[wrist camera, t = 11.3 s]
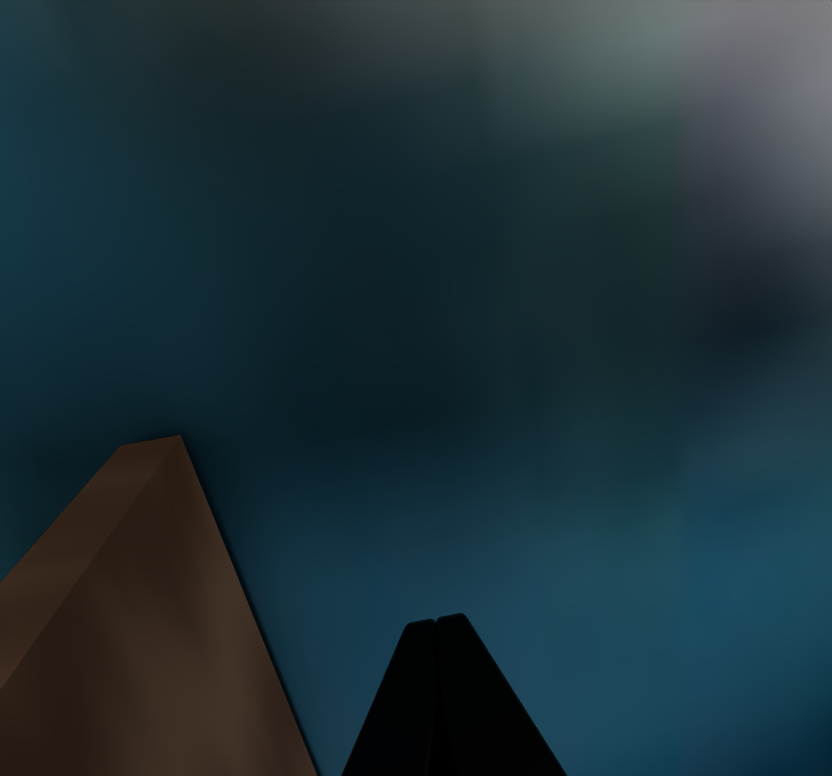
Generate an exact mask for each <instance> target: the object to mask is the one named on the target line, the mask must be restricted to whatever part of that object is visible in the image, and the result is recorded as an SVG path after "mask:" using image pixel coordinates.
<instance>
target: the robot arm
mask: <svg viewBox="0 0 832 776" xmlns="http://www.w3.org/2000/svg"><path fill="white" fill-rule="evenodd" d="M341 776H567V774H566V773H565V771H564V770H563V768H562V767H561V765H560V763H559V762H558V760H557V759H556V757H555V755H554V754H553V752H552V751H551V749H550V748H549V746H548V744H547V743H546V741H545V740H544V738H543V736H542V735H541V733H540V732H539V730H538V729H537V727H536V725H535V724H534V722H533V721H532V719H531V718H530V716H529V714H528V713H527V711H526V710H525V708H524V706H523V705H522V703H521V702H520V700H519V699H518V697H517V695H516V694H515V692H514V691H513V689H512V687H511V686H510V684H509V683H508V681H507V680H506V678H505V676H504V675H503V673H502V672H501V670H500V669H499V667H498V665H497V664H496V662H495V661H494V659H493V657H492V656H491V654H490V653H489V651H488V650H487V648H486V646H485V645H484V643H483V642H482V640H481V638H480V637H479V635H478V634H477V632H476V631H475V629H474V627H473V626H472V624H471V623H470V621H469V619H468V618H467V617H466V615H464V614H463V613H458V614H453V615H447V616H442V617H439V618H438V619H437V621H436V622H435V620H433V619H426V620H421V621H415V622H410V623H408V624H407V625H406V626H405V628H404V630H403V632H402V635H401V637H400V639H399V642H398V644H397V646H396V649H395V651H394V653H393V656H392V658H391V660H390V663H389V665H388V667H387V670H386V672H385V674H384V677H383V679H382V682H381V684H380V686H379V689H378V691H377V693H376V696H375V698H374V700H373V703H372V705H371V707H370V710H369V712H368V714H367V717H366V719H365V721H364V724H363V726H362V728H361V731H360V733H359V735H358V738H357V740H356V742H355V745H354V747H353V749H352V752H351V754H350V756H349V759H348V761H347V763H346V766H345V768H344V770H343V773H342V775H341Z"/></svg>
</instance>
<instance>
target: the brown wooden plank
mask: <svg viewBox="0 0 832 776" xmlns="http://www.w3.org/2000/svg"><path fill="white" fill-rule="evenodd" d="M0 776H317V774H316V771H315V769H314V766H313V764H312V761H311V759H310V756H309V754H308V751H307V749H306V746H305V744H304V741H303V739H302V736H301V734H300V731H299V729H298V726H297V724H296V721H295V719H294V716H293V714H292V711H291V709H290V706H289V704H288V701H287V699H286V696H285V694H284V691H283V689H282V686H281V684H280V681H279V679H278V676H277V674H276V671H275V669H274V667H273V664H272V662H271V659H270V657H269V654H268V652H267V649H266V647H265V644H264V642H263V639H262V637H261V634H260V632H259V629H258V627H257V624H256V622H255V619H254V617H253V614H252V612H251V609H250V607H249V604H248V602H247V599H246V597H245V594H244V592H243V589H242V587H241V584H240V582H239V579H238V577H237V574H236V572H235V569H234V567H233V564H232V562H231V559H230V557H229V554H228V552H227V550H226V547H225V545H224V542H223V540H222V537H221V535H220V532H219V530H218V527H217V525H216V522H215V520H214V517H213V515H212V512H211V510H210V507H209V505H208V502H207V500H206V497H205V495H204V492H203V490H202V487H201V485H200V482H199V480H198V477H197V475H196V472H195V470H194V467H193V465H192V462H191V460H190V457H189V455H188V452H187V450H186V447H185V445H184V442H183V440H182V437H181V435H177V436H171V437H166V438H160V439H155V440H149V441H143V442H138V443H132V444H127V445H121V446H120V447H119V448H118V449H117V450H116V451H115V452H114V454H113V455H112V456H111V457H110V458H109V459H108V460H107V462H106V463H105V464H104V465H103V466H102V467H101V468H100V469H99V471H98V472H97V473H96V474H95V475H94V476H93V477H92V479H91V480H90V481H89V482H88V483H87V484H86V485H85V487H84V488H83V489H82V490H81V491H80V492H79V493H78V495H77V496H76V497H75V498H74V499H73V500H72V501H71V503H70V504H69V505H68V506H67V507H66V508H65V509H64V511H63V512H62V513H61V514H60V515H59V516H58V517H57V519H56V520H55V521H54V522H53V523H52V524H51V525H50V527H49V528H48V529H47V530H46V531H45V532H44V533H43V535H42V536H41V537H40V538H39V539H38V540H37V541H36V543H35V544H34V545H33V546H32V547H31V548H30V549H29V550H28V552H27V553H26V554H25V555H24V556H23V557H22V558H21V560H20V561H19V562H18V563H17V564H16V565H15V566H14V568H13V569H12V570H11V571H10V572H9V573H8V574H7V576H6V577H5V578H4V579H3V580H2V581H1V582H0Z"/></svg>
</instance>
